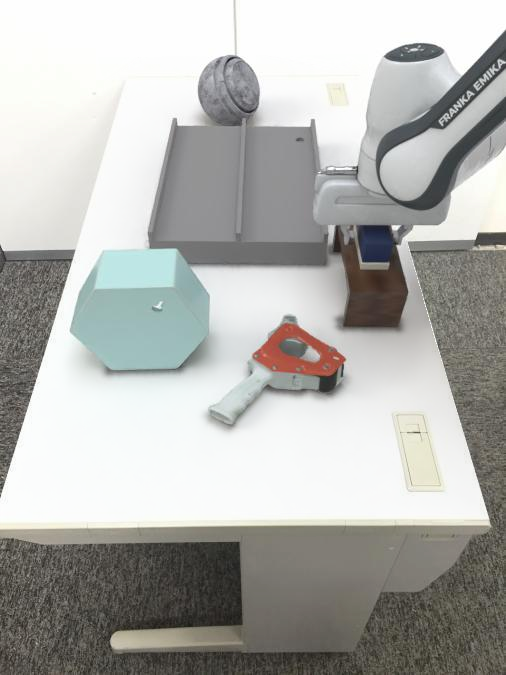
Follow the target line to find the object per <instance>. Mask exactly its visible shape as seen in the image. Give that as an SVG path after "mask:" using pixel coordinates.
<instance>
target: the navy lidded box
mask: <svg viewBox="0 0 506 675" xmlns="http://www.w3.org/2000/svg"><path fill="white" fill-rule="evenodd" d="M353 230H354V235H355V243H356V248H357V253H358V258H359V264H360V269H361V270H388V268H389V259H390V255H391V252H392V248H393V240H392V236H391V233H390V229H389V225H354V228H353Z"/></svg>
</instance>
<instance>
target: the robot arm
mask: <svg viewBox="0 0 506 675" xmlns="http://www.w3.org/2000/svg"><path fill="white" fill-rule="evenodd" d="M365 122H366V129H365V132H364V135H363V136H362V137H361V138H362V139H361V142H360V146H359V154H358V158H357V165H350V166H349V165H345V166H335V165H330V166H325V168H323V169H321V171H319V172H318V173H317V174H316V176H315V179H314V190H315V191H316V193H315V197H314V202H313V218H314V220H315V221H316V223H317V224H318V225H328V226H335V225H340V227H341V230H342V232H343V234H344V244H345V245H354V241H355V235H354V230H349V229H350V225H391V226H399V227H398V228H397V230H395V229H393V231H392V233H391V236H392V240H393V245H397V246H401V245H402V242H403V239H404V238H405V237H406V236H407V235H409V233H410V232H412V231H413V229H414V226H439V225H441V224H442V223H444V222H445V221H446V219H447V217H448V214H449V211H450V206H451V201H452V192H453V191H454V190H456V189H457V188H458V187H460V186H461V185H462V184H464V183H465V182H466V181H468V180H469V179H470V178H471V177H473V176H474V175H475V174H477V173H478V172H479V171H480V170H482V169H483V168H484V167H486V166H487V165H488V164H490V163H491V162H492V161H493V160H495V158H497V157H499V155H500V154H501V153H502V152H503V151H504V149H505V148H506V28H505V29H504V31H502V33H501V34H500V35H499V36H498V37H497V38H496V39H495V40H494V41H493V42H492V44H491V45H490V46H489V47H488V48H487V49H486V50H485V51H484V52H483V53H482V55H480V56H479V58H478V59H477V60H476V61H475V62H474V63H473V64H472V65H471V66H470V67H469V68H468V69H467V70H466V71H465V73H463V75H462V74H461V73H460V72H459V71H458V70H457V69H456V67H455V66H454V65H453V64H452V62H451V60H450V58H449V55H448V53H447V51H446V50H445V49H444V48H443V47H441V46H439V45H437V44H435V43H428V42H413V43H409V44H406V43H405V44H403V45H399V46H398V47H396V48H393V49H391V50H390V51H388V52H386V53H385V54H384V55H383V56H382V57H381V58H380V59H379V62H378V64H377V67H376V70H375V72H374V76H373V79H372V82H371V86H370V90H369V94H368V100H367V106H366V110H365Z"/></svg>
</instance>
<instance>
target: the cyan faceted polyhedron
mask: <svg viewBox="0 0 506 675" xmlns="http://www.w3.org/2000/svg"><path fill="white" fill-rule="evenodd" d="M210 301H211V296H210V293H209V292H208V290H207V289H206V287H205V286H204V285H203V283H202V282H201V280H200V278H198V276H197V275H196V274H195V272H194V271H193V269H192V268H191V266H190V265H189V263H187V262H186V261H185V259H184V258H183V256H182V255H181V253H180V252H179V251H178V249H150V248H139V249H138V248H137V249H136V248H135V249H134V248H133V249H103V250H102V252H101V253H100V254H99V256H98V258H97V260H96V262H95V263H94V265H93V267H92V268H91V271H90V272H89V274H88V276H87V278H86V279H85V281H84V283H83V284H82V286H81V288H80V289H79V291H78V294H77V298H76V302H75V307H74V310H73V314H72V317H71V318H72V319H71V323H70V326H69V333H70V334H71V335H72V336H73V337H75V338H76V339H77V340H78V341H79V342H80V343H81V344H82V345H83V346H84V347H85V348H86V349H87V350H88V351H89V352H90V353H92V355H94V356H95V357H96V358H97V359H98V360H99V361H100V362H102V363H103V365H105V366H106V367H107V368H108V370H111V371H140V370H141V371H143V370H145V371H146V370H169V369H170V370H176V369H179V368H180V366H181V365H183V363H184V362H185V361H186V360H187V359H188V358H189V357H190V355H191V354H192V353H193V352H194V351H195V350H196V349H197V348H198V346H199V345H200V344H201V343H202V342H203V341H204V340H205V338H207V337H208V335H209V334H210V305H211V304H210V303H211V302H210ZM160 303H161V304H160ZM159 304H160V308H158V305H159Z"/></svg>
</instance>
